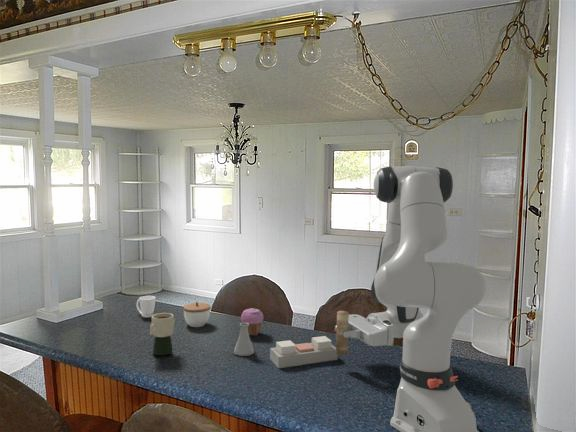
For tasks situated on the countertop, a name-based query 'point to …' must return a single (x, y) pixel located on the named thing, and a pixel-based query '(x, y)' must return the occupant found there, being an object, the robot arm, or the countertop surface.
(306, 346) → the terracotta key
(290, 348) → the ivory key
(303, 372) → the countertop surface
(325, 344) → the ivory key
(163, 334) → the character mug
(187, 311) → the lidded jar
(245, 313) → the cupcake
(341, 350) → the tan wooden cylinder
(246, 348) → the flask
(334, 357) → the keypad bezel
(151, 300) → the cup
